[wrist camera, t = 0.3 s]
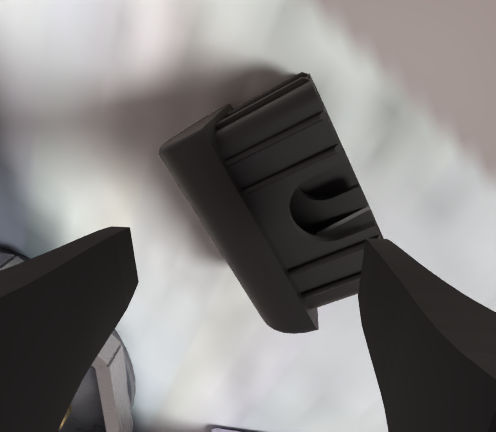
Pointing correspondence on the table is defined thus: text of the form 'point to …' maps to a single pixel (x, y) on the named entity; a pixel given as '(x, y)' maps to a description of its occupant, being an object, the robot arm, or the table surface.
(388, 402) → the robot arm
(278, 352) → the table surface
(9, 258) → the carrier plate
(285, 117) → the end cap
